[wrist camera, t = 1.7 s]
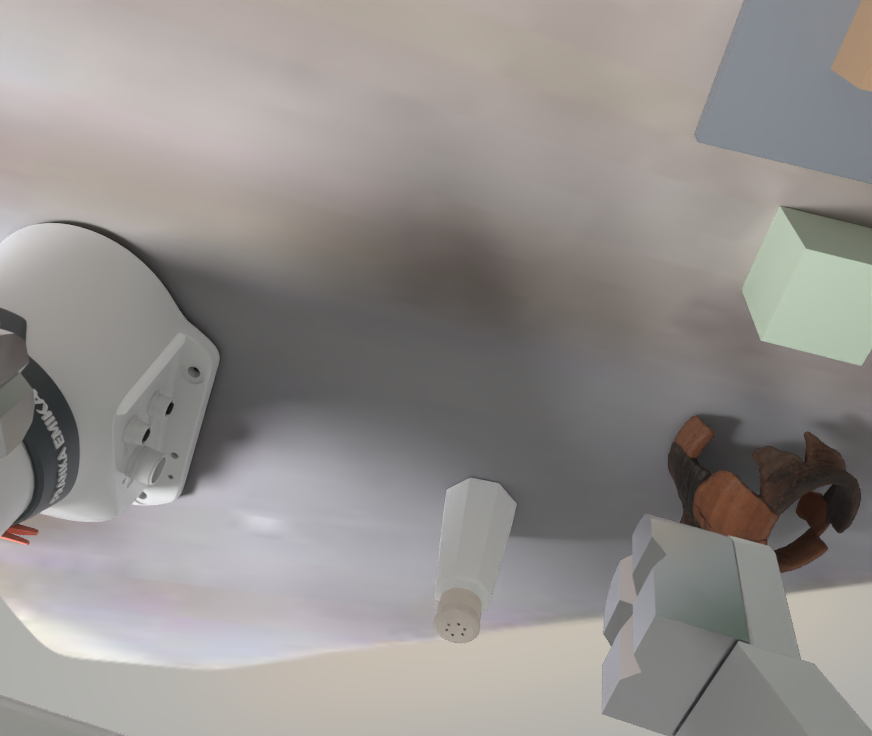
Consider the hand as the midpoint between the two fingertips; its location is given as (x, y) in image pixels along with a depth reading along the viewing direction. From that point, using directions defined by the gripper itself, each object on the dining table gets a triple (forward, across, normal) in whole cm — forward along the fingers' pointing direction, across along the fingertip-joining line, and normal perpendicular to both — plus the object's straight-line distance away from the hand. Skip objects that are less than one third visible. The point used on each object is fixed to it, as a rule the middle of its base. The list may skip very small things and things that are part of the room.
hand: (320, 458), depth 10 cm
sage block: (+34, -17, +8) cm, 39 cm away
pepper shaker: (+33, -4, +31) cm, 46 cm away
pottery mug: (+35, -17, +23) cm, 45 cm away
